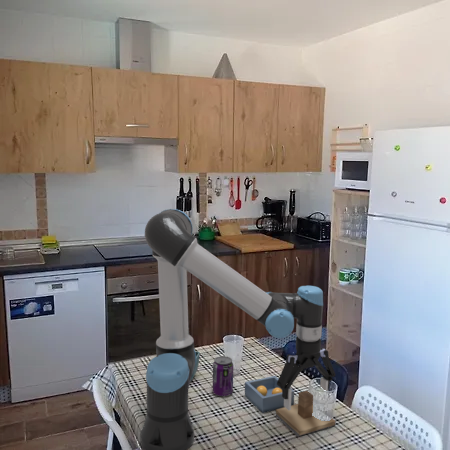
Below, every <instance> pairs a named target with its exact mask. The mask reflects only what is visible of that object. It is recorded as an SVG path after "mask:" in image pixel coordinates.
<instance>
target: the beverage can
mask: <svg viewBox="0 0 450 450" xmlns="http://www.w3.org/2000/svg"><path fill="white" fill-rule="evenodd" d="M211 390H212V393H213V395H216V396H219V397H227V396H230V395H232V393H233V392H234V363H233V359H232V358H231V357H230V356H225V355H223V356H222V355H220V356H216V357H215V358H214V360H213V364H212V389H211Z"/></svg>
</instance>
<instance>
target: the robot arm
mask: <svg viewBox="0 0 450 450" xmlns="http://www.w3.org/2000/svg"><path fill="white" fill-rule="evenodd" d="M145 225H146V226H145V229H144V238H145V242H146V244H147V246H148V247H149V248H150V249H151V251H152V256H153V257H154V259H156V261H157V271H158V276H157V277H158V300H159V320H160V321H159V323H160V324H159V325H160V336H159V337H158V338H157V339H156V341H155V346H156V347H155V350H156V351H155V352H156V356H154V357H153V358H152V359H150V361H149V362H148V364H147V367H146V373H145V379H146V416H145V418H144V419H145V420H144V422H143V425H142V428H141V431H140V445H141V447H142V449H144V450H188V449H189V448H191V447H192V445H193V444H194V441H195V429H194V426H193V423H192V421H191V418H190V414H189V386H190V383H191V382H190V380H191V377H192V373H193V370H194V368H195V365H196V352H197V351H196V349H195V343H194V337H192V335H190V333H189V332H190V331H189V306H188V304H189V303H188V302H189V301H188V276H187V275H188V273H190V274H192V276H194V277H195V278H197V279H198V280H200V281H201V282H203V283H204V284H205V285H206V286H208V287H210V288H211V289H212V290H214V291H215V292H216V293H218V294H219V295H221V296H222V297H224V298H225V299H227V300H228V301H229V302H231V303H232V304H234V305H235V306H236V307H237V308H239V309H240V310H242V311H243V312H245V313H246V314H248V315H249V316H250V317H252V318H253V319H254V320H256V321H258V322H259V323H260V324H261V325H263V326H264V327H265V329H266V331H267V332H268V333H269V334H270V335H271V336H272V337H274V338H276V339H285V338H287V337H288V336H290V335H291V334H292V332H293V331H294V328H295V319H296V329H295V331H296V332H295V336H296V337H295V350H296V353H295V355H291V354H290V353H289V354H287V355H286V361H285V364H284V366H283V368H282V370H281V373H280V375H279V377H278V378H279V379H278V382H277V385H278V386H279V387H280V388H281V389H282V397H283V398H284V407H285V408H286V409H288V410H291V392H292V390H293V388H291V386H292V385H293V383H294V382H295V381H296V379H297V377H298V376H299V375H300V373H302V372H303V371H304V370H305V369H309V368H314V367H315V368H316V369H317V371H318V372H319V373H320V374H321V375H322V376H323V377H320V384H319V386H320V387H322V388H323V389H324V390H326V391H329V389H330V383H331V381H333V378H335V377H336V372H335V369H334V367H333V364H332V363H331V360H330V357H329V350H327V349H325V348H323V347H322V339H321V338H322V332H323V331H322V330H323V329H322V328H323V312H324V310H323V309H324V292H323V290H322V289H321V288H320V287H318V286H315V285H301V286H299V287H298V288H297V292H292V293H291V292H272V291H268V292H267V291H264V290H263V289H261V288H260V287H258V286H257V285H256V284H254V283H253V282H251V281H250V280H249V279H248V278H246V277H245V276H243V275H242V274H240V273H239V272H238V271H237V270H235V269H234V268H232V267H231V266H230V265H228V264H226V263H225V262H224V261H223V260H221V259H220V258H218V257H216V256H215V255H214V254H212V253H211V252H210V251H209V250H207V249H205V248H204V247H203V246H202V245H200V244H199V243H198V239H197V237H195V236H194V235H192V234H193V223H192V220H191V219H190V217H189V216H188V214H186V213H185V212H184V211H182V210H179V209H175V208H170V209H165V210H161V212H159V213H156V214H155V215H153V216H152V217H151V218H150V219H149V220H148V221H147V223H146V224H145ZM269 334H268V335H269ZM195 351H196V352H195ZM320 358H321V361H322V362H323V365H322V364H321V362H320V361H319V359H320ZM323 366H324V367H323ZM320 387H319V388H320ZM290 388H291V389H290Z"/></svg>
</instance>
